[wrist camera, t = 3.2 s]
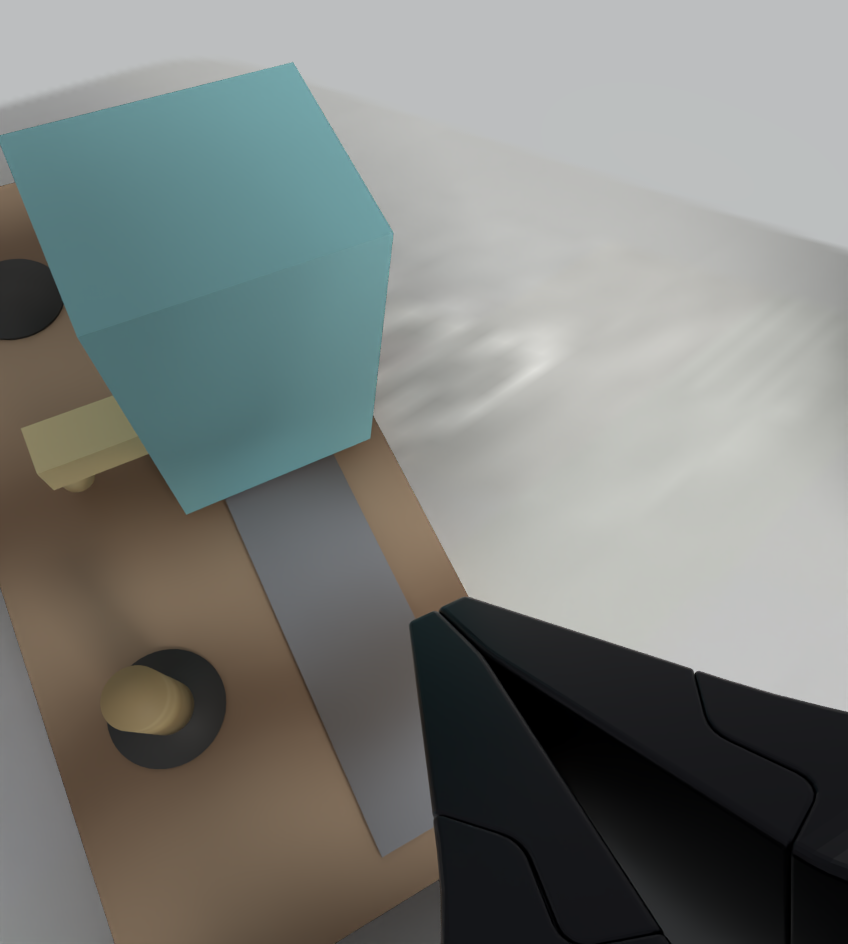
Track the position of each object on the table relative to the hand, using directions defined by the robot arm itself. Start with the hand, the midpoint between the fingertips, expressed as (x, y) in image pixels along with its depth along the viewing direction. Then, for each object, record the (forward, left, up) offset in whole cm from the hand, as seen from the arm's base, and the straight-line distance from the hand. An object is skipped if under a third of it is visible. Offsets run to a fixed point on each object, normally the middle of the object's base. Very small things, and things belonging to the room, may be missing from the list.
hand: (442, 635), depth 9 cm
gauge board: (+7, 0, -10) cm, 13 cm away
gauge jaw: (+8, -1, -8) cm, 11 cm away
